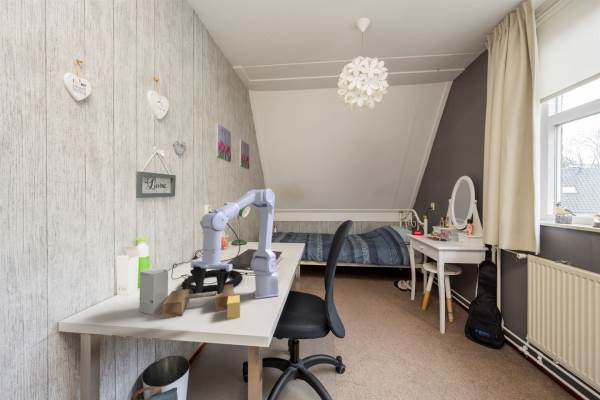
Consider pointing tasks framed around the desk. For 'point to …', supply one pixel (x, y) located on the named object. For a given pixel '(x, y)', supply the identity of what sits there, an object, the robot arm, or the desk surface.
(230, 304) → the yellow block
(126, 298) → the desk surface
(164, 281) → the skincare box
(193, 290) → the cable lock
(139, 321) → the desk surface
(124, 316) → the desk surface
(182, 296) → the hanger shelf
